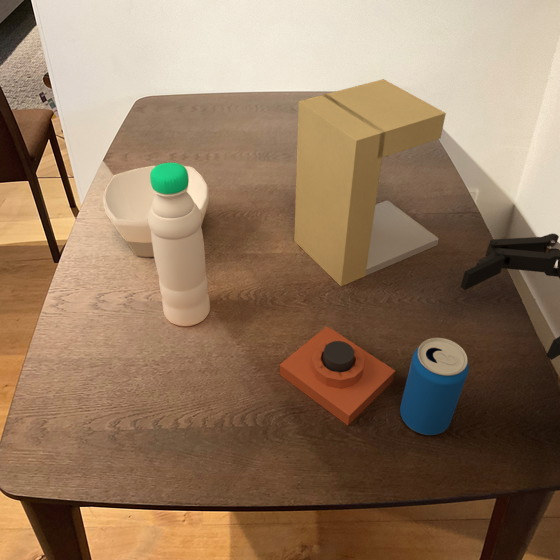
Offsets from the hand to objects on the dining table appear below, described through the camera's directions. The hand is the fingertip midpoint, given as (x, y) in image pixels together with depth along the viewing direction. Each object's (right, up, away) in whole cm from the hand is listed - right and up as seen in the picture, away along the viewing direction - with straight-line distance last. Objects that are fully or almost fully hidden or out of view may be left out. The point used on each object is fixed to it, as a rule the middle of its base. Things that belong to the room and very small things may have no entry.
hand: (505, 313), depth 69 cm
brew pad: (-19, -9, +10) cm, 24 cm away
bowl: (-48, +12, +34) cm, 60 cm away
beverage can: (-8, -14, +5) cm, 17 cm away
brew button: (-19, -7, +8) cm, 22 cm away
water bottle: (-41, -1, +19) cm, 46 cm away
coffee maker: (-12, +11, +33) cm, 36 cm away
